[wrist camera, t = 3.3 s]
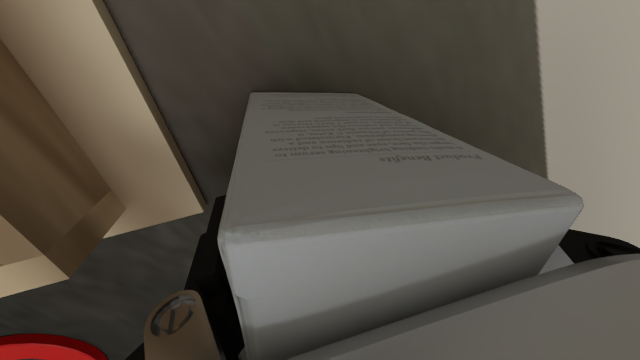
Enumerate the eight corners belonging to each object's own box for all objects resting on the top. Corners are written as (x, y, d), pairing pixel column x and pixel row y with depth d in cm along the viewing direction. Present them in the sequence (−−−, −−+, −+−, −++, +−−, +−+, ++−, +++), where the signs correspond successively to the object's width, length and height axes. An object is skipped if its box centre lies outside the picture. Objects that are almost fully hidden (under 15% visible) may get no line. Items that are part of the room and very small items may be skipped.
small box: (344, 214, 16) (449, 417, 7) (260, 222, 15) (262, 478, 6) (358, 89, 13) (611, 198, 4) (247, 88, 11) (208, 244, 2)
